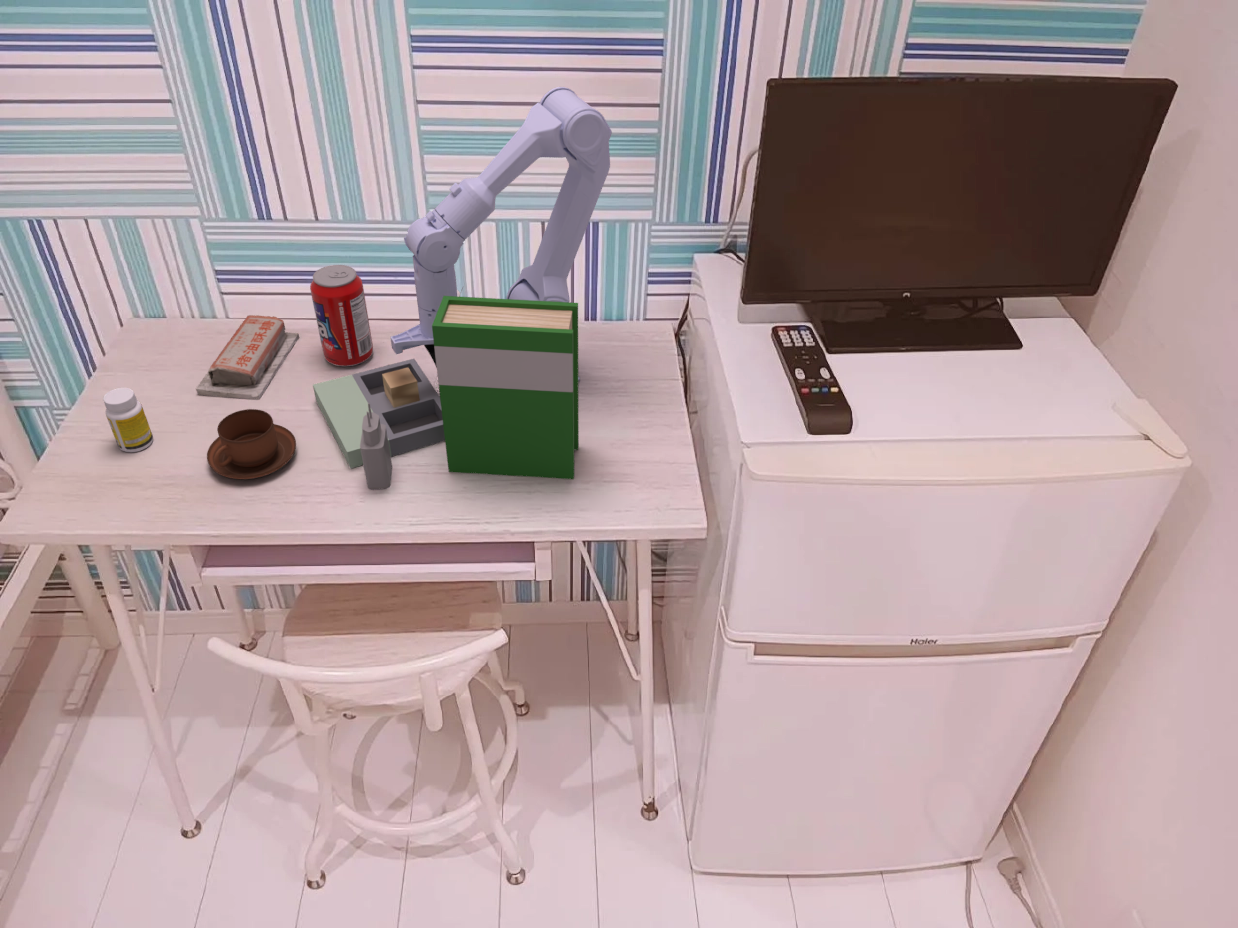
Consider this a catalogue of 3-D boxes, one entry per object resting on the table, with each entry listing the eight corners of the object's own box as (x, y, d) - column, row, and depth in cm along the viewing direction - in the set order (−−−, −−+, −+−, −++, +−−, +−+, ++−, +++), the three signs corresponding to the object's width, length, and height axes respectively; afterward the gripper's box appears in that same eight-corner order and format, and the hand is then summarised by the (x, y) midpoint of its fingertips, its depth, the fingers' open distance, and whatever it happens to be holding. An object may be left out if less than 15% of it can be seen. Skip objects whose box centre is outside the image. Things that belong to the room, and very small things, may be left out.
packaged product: (235, 309, 162) (295, 314, 161) (242, 334, 165) (300, 339, 164) (189, 371, 148) (253, 376, 148) (197, 397, 151) (260, 402, 151)
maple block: (410, 386, 149) (408, 367, 147) (419, 400, 146) (417, 381, 144) (385, 393, 147) (382, 374, 145) (393, 407, 145) (390, 388, 142)
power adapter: (366, 489, 135) (353, 420, 127) (370, 464, 139) (358, 395, 132) (390, 488, 135) (378, 419, 128) (392, 463, 140) (381, 394, 132)
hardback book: (578, 446, 144) (578, 302, 128) (573, 479, 138) (572, 333, 123) (458, 439, 144) (443, 295, 129) (448, 472, 139) (431, 325, 123)
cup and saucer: (276, 492, 135) (267, 457, 131) (194, 481, 136) (182, 446, 132) (311, 438, 144) (304, 404, 140) (234, 428, 145) (224, 394, 141)
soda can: (373, 368, 157) (359, 286, 148) (322, 372, 156) (305, 288, 147) (374, 342, 163) (361, 260, 154) (326, 345, 162) (310, 263, 153)
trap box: (416, 374, 157) (414, 358, 155) (457, 437, 145) (455, 420, 143) (316, 400, 151) (312, 384, 149) (350, 468, 138) (347, 452, 137)
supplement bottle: (161, 437, 143) (144, 390, 138) (138, 456, 139) (120, 408, 134) (133, 429, 144) (116, 382, 139) (111, 448, 141) (92, 401, 135)
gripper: (474, 278, 145) (480, 355, 154) (379, 300, 140) (391, 378, 149) (493, 300, 141) (498, 378, 149) (395, 323, 135) (406, 403, 144)
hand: (446, 380), depth 149 cm, fingers closed
